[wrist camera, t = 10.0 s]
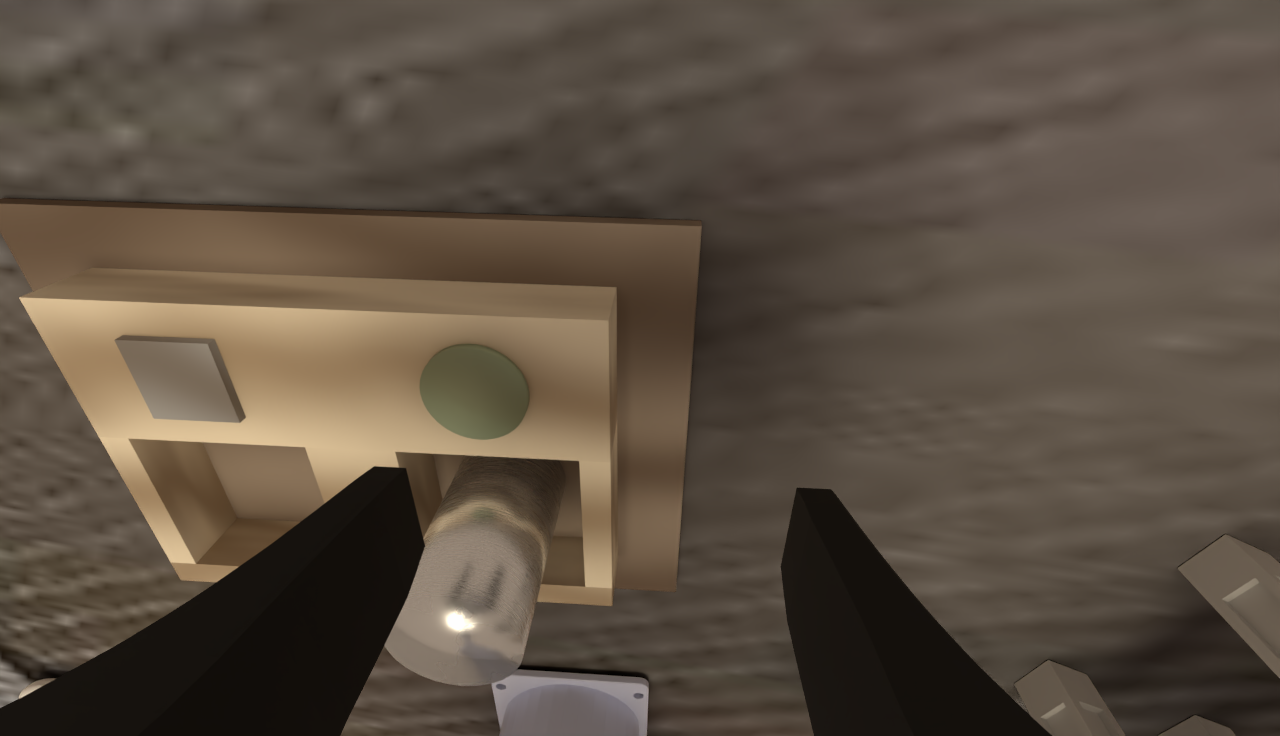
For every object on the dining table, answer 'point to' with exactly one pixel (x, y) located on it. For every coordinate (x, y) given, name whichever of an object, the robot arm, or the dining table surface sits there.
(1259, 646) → the stool
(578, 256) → the socket block
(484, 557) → the peg
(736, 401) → the dining table surface
